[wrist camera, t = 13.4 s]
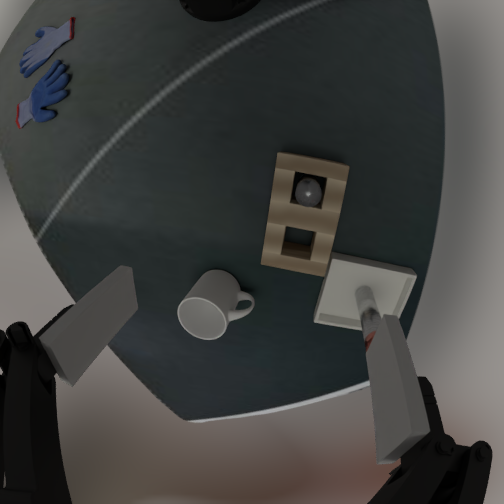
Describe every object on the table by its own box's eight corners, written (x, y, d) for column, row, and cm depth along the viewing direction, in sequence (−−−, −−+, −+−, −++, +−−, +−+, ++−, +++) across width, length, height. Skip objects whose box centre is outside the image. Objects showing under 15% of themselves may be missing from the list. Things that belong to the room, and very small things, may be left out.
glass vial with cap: (357, 284, 46) (372, 340, 32) (374, 287, 46) (393, 343, 32) (352, 299, 48) (363, 358, 34) (368, 302, 47) (384, 360, 33)
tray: (331, 251, 46) (332, 258, 43) (411, 268, 44) (417, 276, 41) (313, 312, 51) (313, 322, 48) (388, 325, 49) (391, 334, 46)
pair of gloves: (26, 45, 38) (17, 44, 35) (81, 2, 33) (72, -2, 29) (22, 138, 50) (13, 140, 47) (75, 108, 44) (64, 108, 41)
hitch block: (281, 151, 41) (277, 152, 36) (343, 163, 40) (349, 166, 34) (266, 249, 48) (260, 264, 42) (322, 260, 47) (324, 276, 41)
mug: (260, 309, 53) (248, 345, 43) (202, 304, 55) (182, 336, 46) (258, 270, 50) (246, 301, 40) (197, 266, 52) (173, 294, 42)
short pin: (299, 171, 42) (297, 178, 34) (320, 176, 41) (323, 184, 33) (296, 192, 43) (293, 204, 35) (316, 196, 43) (319, 209, 35)
